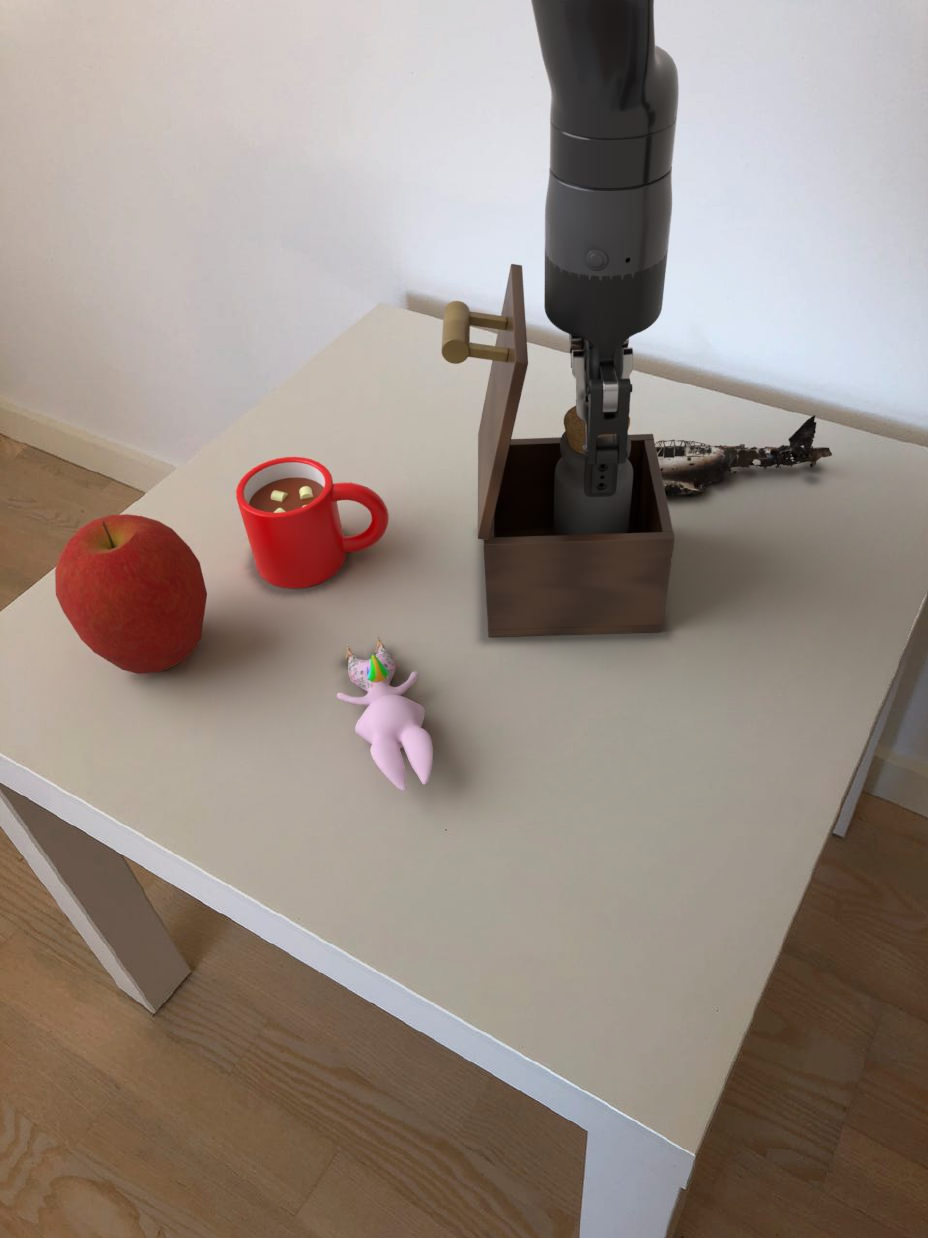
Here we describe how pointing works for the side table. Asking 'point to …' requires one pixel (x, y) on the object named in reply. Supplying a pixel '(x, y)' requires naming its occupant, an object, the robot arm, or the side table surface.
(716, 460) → the airplane wreck
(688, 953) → the side table surface
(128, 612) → the apple
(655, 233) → the robot arm
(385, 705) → the pink creature figurine
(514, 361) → the lid
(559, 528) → the bottle
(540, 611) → the chest
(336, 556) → the mug
